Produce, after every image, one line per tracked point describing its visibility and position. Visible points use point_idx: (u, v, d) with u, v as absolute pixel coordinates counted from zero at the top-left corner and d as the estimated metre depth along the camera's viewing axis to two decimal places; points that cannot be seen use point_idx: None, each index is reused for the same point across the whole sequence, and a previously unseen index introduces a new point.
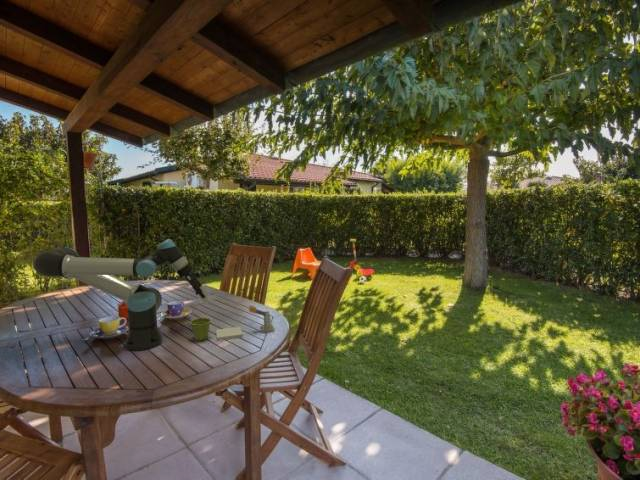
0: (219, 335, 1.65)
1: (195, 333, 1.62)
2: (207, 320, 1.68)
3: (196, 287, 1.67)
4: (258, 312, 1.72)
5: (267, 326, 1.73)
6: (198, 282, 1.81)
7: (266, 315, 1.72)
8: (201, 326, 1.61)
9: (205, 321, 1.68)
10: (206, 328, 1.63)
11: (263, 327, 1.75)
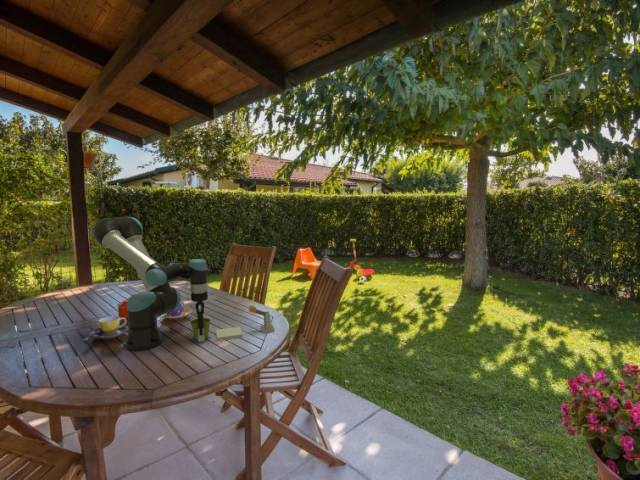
0: (219, 335, 1.65)
1: (195, 333, 1.62)
2: (207, 320, 1.68)
3: (201, 322, 1.57)
4: (258, 312, 1.72)
5: (267, 326, 1.73)
6: None
7: (266, 315, 1.72)
8: None
9: (205, 321, 1.68)
10: (206, 328, 1.63)
11: (263, 327, 1.75)
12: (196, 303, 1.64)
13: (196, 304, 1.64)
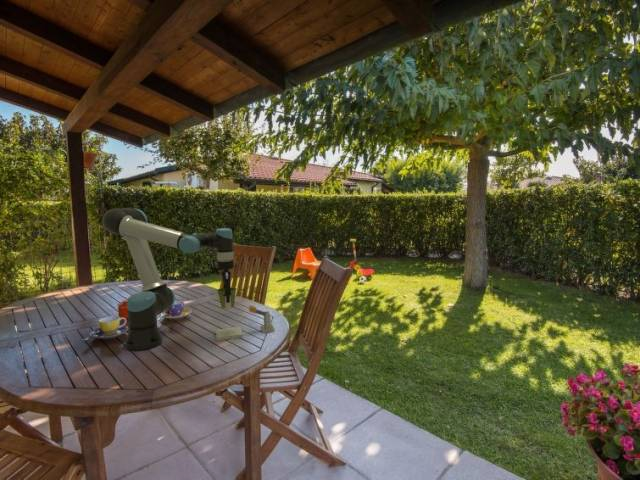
0: (219, 335, 1.65)
1: (222, 301, 1.64)
2: (233, 289, 1.70)
3: (228, 289, 1.60)
4: (258, 312, 1.72)
5: (267, 326, 1.73)
6: None
7: (266, 315, 1.72)
8: None
9: (231, 290, 1.71)
10: (232, 296, 1.65)
11: (263, 327, 1.75)
12: (222, 272, 1.66)
13: None
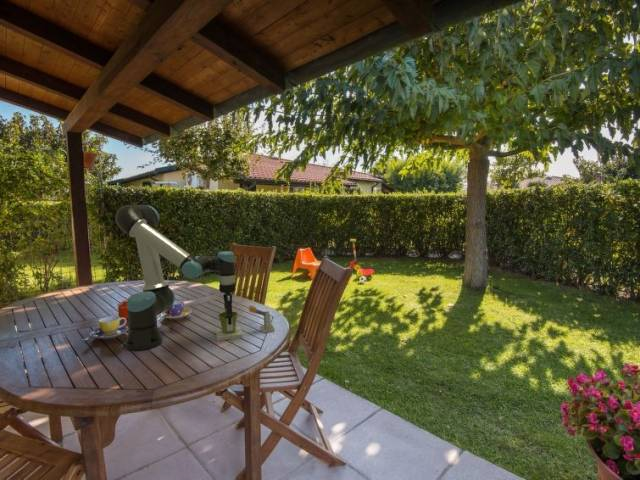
0: (219, 335, 1.65)
1: (223, 326, 1.67)
2: (234, 313, 1.73)
3: (230, 311, 1.60)
4: (258, 312, 1.72)
5: (267, 326, 1.73)
6: None
7: (266, 315, 1.72)
8: None
9: (232, 314, 1.74)
10: (234, 321, 1.68)
11: (263, 327, 1.75)
12: (224, 295, 1.68)
13: None
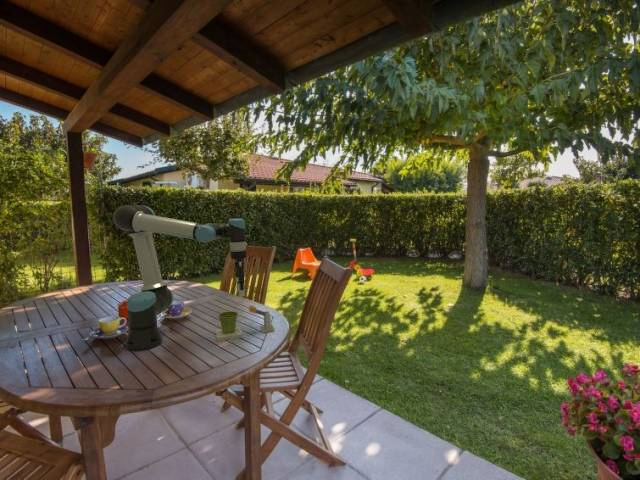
0: (219, 335, 1.65)
1: (223, 326, 1.67)
2: (234, 313, 1.73)
3: (242, 276, 1.59)
4: (258, 312, 1.72)
5: (267, 326, 1.73)
6: None
7: (266, 315, 1.72)
8: (229, 319, 1.66)
9: (232, 314, 1.74)
10: (234, 321, 1.68)
11: (263, 327, 1.75)
12: (235, 262, 1.68)
13: (235, 263, 1.68)
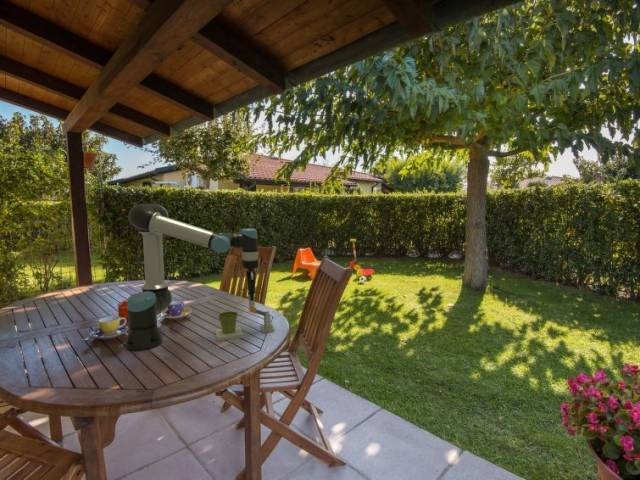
0: (219, 335, 1.65)
1: (223, 326, 1.67)
2: (234, 313, 1.73)
3: (252, 289, 1.67)
4: (258, 312, 1.72)
5: (267, 326, 1.73)
6: None
7: (266, 315, 1.72)
8: (229, 319, 1.66)
9: (232, 314, 1.74)
10: (234, 321, 1.68)
11: (263, 327, 1.75)
12: (247, 271, 1.71)
13: (247, 271, 1.70)
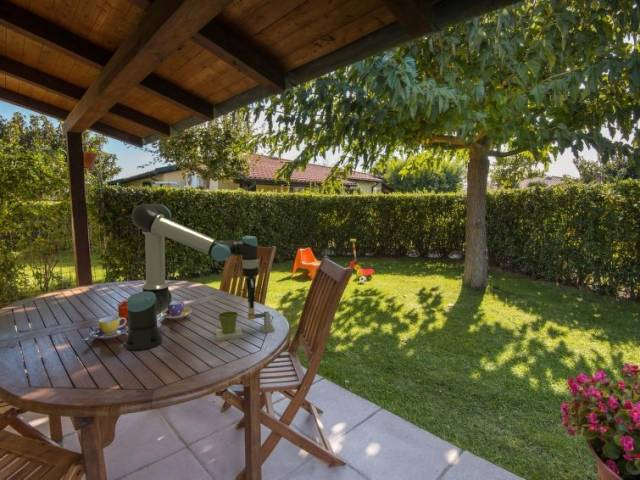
0: (219, 335, 1.65)
1: (223, 326, 1.67)
2: (234, 313, 1.73)
3: (252, 296, 1.67)
4: (257, 316, 1.72)
5: (267, 326, 1.73)
6: None
7: (266, 315, 1.72)
8: (229, 319, 1.66)
9: (232, 314, 1.74)
10: (234, 321, 1.68)
11: (263, 327, 1.75)
12: None
13: (247, 279, 1.71)
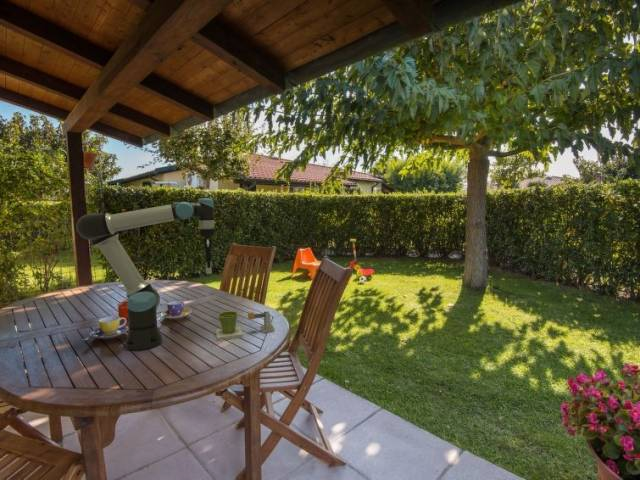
0: (219, 335, 1.65)
1: (223, 326, 1.67)
2: (234, 313, 1.73)
3: (209, 256, 1.74)
4: (257, 316, 1.72)
5: (267, 326, 1.73)
6: None
7: (266, 315, 1.72)
8: (229, 319, 1.66)
9: (232, 314, 1.74)
10: (234, 321, 1.68)
11: (263, 327, 1.75)
12: None
13: None
